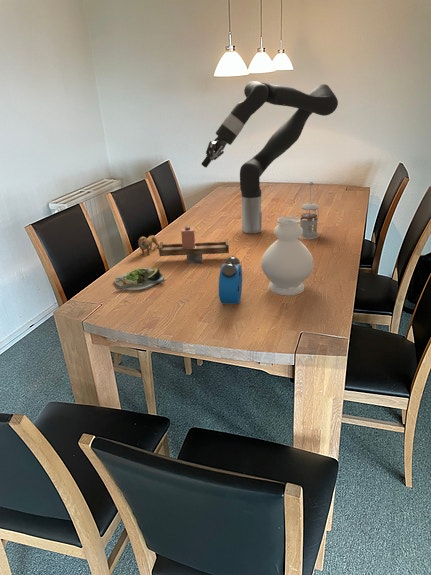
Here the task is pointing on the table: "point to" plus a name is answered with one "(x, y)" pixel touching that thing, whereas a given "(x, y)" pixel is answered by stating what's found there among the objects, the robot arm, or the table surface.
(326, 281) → the table surface
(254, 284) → the table surface
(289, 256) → the decorative vase
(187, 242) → the rider
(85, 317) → the table surface
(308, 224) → the french press
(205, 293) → the table surface
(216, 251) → the beam
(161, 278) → the salad plate
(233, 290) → the alarm clock
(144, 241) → the lion figurine
